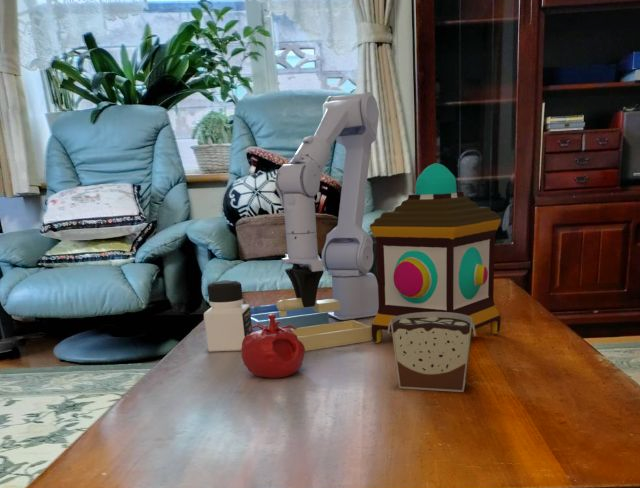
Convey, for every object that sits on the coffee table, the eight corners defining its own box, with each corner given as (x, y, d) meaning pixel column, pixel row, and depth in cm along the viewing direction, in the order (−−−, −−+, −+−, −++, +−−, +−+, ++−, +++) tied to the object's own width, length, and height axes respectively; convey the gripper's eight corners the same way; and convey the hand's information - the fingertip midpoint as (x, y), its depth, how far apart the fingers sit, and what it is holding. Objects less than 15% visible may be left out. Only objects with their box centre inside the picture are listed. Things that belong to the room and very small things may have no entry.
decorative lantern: (456, 357, 112) (458, 161, 101) (360, 344, 123) (352, 167, 113) (510, 332, 127) (516, 159, 116) (420, 323, 138) (418, 164, 127)
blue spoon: (300, 313, 154) (298, 299, 153) (305, 315, 151) (304, 301, 149) (247, 320, 149) (246, 306, 148) (252, 322, 146) (251, 308, 145)
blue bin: (314, 318, 147) (314, 306, 146) (328, 324, 140) (328, 312, 140) (247, 328, 141) (245, 315, 140) (258, 334, 135) (257, 321, 134)
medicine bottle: (247, 350, 123) (239, 283, 118) (207, 352, 123) (199, 285, 119) (253, 341, 129) (247, 277, 125) (216, 342, 129) (208, 279, 125)
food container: (482, 380, 99) (483, 312, 96) (474, 392, 94) (475, 321, 90) (400, 375, 103) (399, 310, 100) (389, 387, 98) (387, 318, 94)
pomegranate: (232, 380, 105) (225, 320, 102) (262, 363, 114) (256, 308, 110) (289, 384, 102) (284, 322, 98) (316, 366, 110) (312, 309, 107)
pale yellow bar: (332, 307, 136) (331, 292, 135) (340, 310, 133) (339, 294, 132) (274, 315, 131) (273, 299, 130) (280, 318, 128) (279, 302, 127)
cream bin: (354, 333, 132) (353, 319, 131) (372, 340, 126) (371, 326, 125) (280, 344, 126) (279, 330, 125) (295, 352, 120) (294, 338, 119)
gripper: (268, 232, 131) (274, 302, 136) (294, 236, 119) (300, 314, 124) (302, 229, 134) (307, 298, 139) (331, 233, 122) (336, 309, 127)
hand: (306, 305), depth 132 cm, fingers closed on pale yellow bar, 2 cm apart
